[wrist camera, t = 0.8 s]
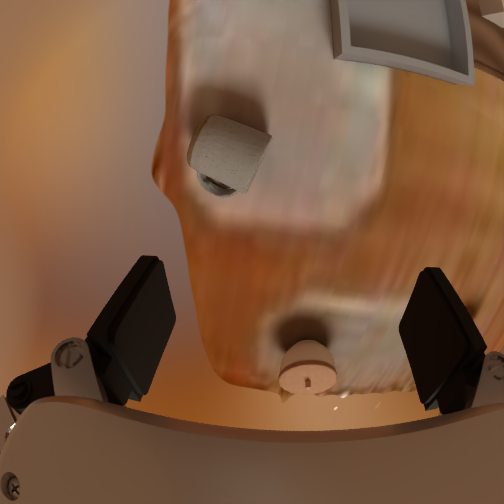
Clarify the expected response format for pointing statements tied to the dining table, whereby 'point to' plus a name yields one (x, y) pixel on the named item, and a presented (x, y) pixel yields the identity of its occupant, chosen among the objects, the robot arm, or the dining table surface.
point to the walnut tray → (486, 41)
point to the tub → (406, 36)
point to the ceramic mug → (226, 154)
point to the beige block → (493, 11)
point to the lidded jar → (307, 368)
